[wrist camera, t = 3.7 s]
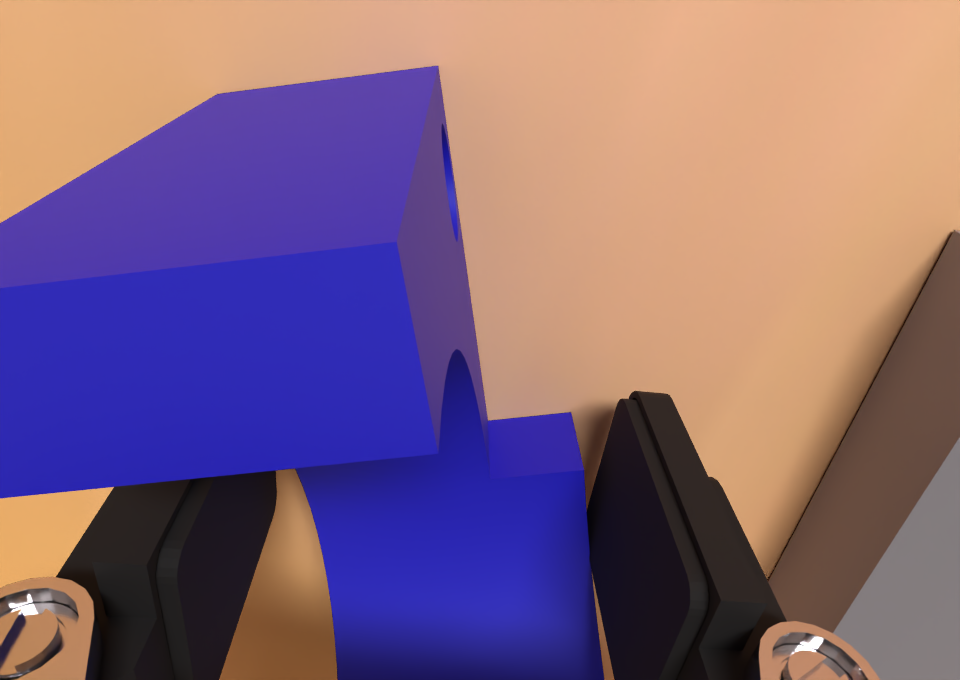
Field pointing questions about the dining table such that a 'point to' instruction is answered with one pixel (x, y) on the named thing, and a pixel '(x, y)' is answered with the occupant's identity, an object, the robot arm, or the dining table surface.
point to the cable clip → (304, 369)
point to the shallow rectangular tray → (892, 506)
